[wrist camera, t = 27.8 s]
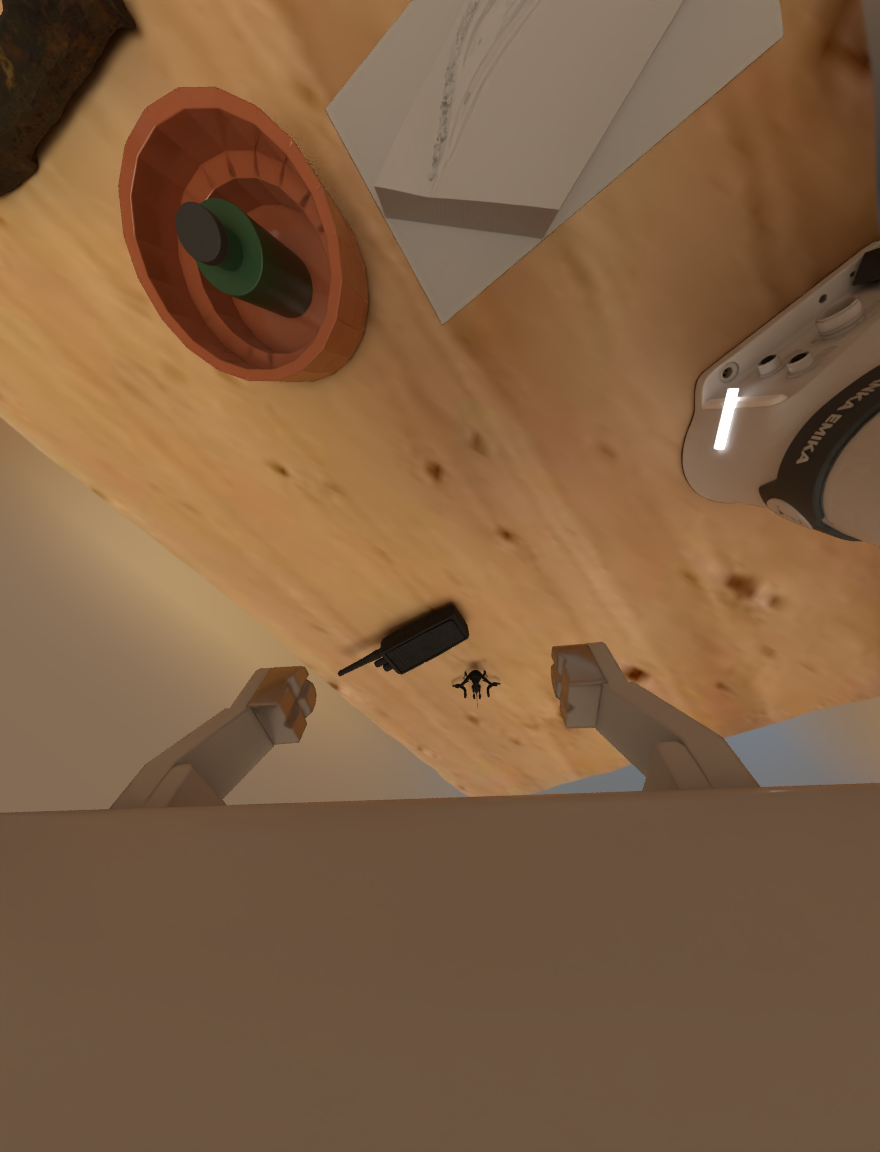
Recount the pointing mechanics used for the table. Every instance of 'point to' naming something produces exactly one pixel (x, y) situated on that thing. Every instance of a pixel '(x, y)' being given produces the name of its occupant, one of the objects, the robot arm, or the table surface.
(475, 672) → the creature
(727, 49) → the ramp
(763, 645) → the table surface
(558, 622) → the table surface
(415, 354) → the table surface
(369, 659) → the walkie-talkie
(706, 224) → the table surface
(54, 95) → the dark brown rough bar
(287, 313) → the plant food bottle
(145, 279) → the pot
